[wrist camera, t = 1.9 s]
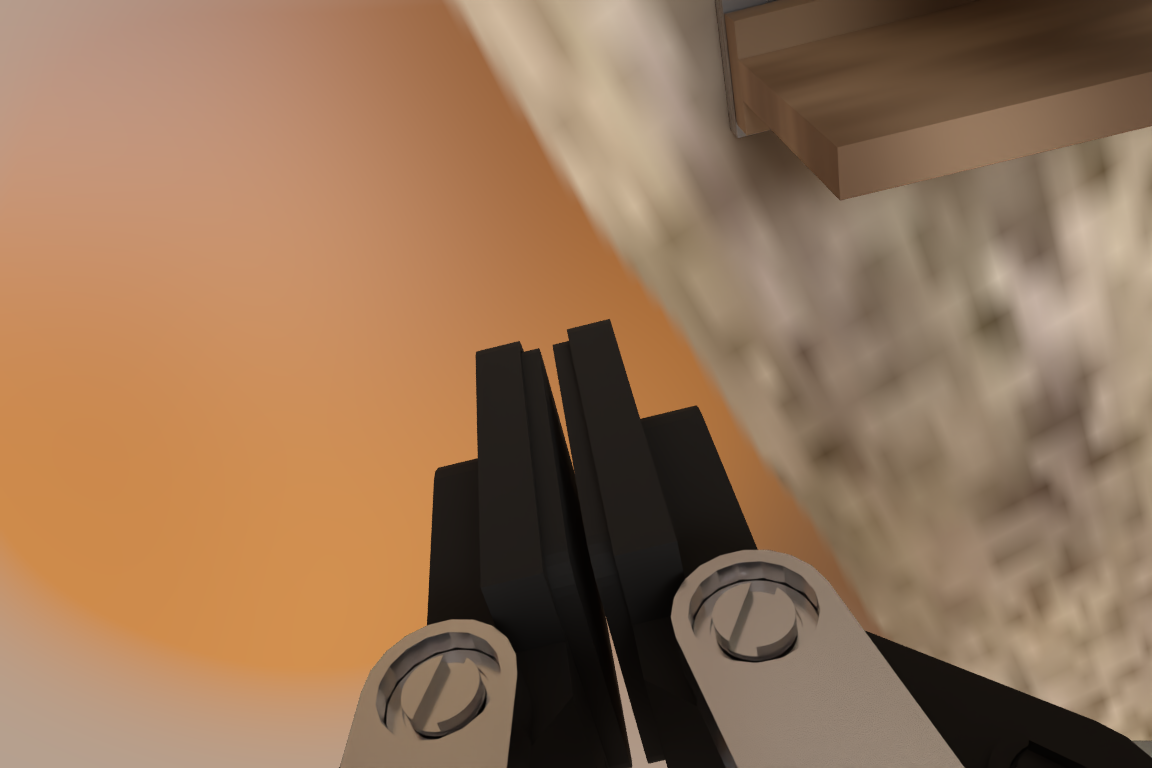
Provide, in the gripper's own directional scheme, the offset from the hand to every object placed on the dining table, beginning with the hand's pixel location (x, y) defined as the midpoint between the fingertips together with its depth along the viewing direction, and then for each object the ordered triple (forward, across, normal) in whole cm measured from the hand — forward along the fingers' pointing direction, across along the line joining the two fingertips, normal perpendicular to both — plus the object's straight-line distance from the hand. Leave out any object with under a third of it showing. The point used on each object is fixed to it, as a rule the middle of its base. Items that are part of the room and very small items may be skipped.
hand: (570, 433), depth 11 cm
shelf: (+14, -12, 0) cm, 19 cm away
